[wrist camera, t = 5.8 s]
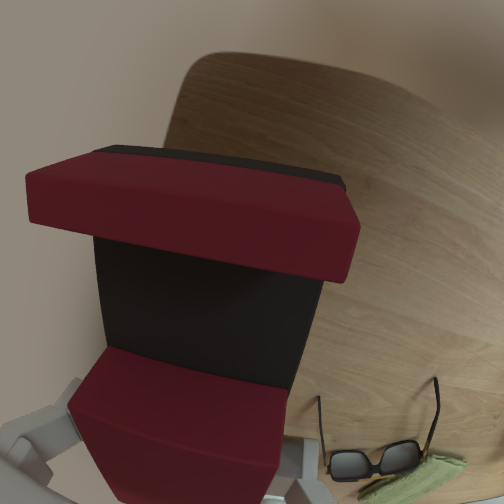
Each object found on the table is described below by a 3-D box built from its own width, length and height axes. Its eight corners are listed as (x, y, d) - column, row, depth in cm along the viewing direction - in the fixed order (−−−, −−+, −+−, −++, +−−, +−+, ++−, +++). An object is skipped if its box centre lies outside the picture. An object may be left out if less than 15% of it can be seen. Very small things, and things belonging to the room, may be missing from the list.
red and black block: (114, 144, 8) (5, 178, 4) (341, 175, 8) (374, 236, 4) (143, 439, 14) (115, 500, 10) (258, 467, 14) (245, 535, 10)
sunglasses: (436, 375, 31) (447, 407, 26) (419, 443, 36) (424, 470, 32) (317, 394, 34) (317, 429, 29) (326, 457, 39) (325, 486, 35)
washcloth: (469, 455, 37) (473, 470, 34) (399, 498, 45) (400, 511, 42) (426, 445, 36) (430, 462, 33) (351, 491, 44) (351, 506, 41)
